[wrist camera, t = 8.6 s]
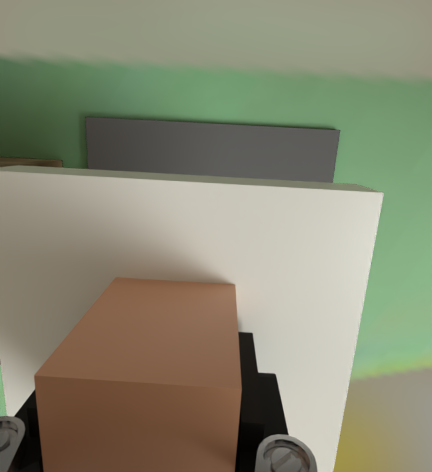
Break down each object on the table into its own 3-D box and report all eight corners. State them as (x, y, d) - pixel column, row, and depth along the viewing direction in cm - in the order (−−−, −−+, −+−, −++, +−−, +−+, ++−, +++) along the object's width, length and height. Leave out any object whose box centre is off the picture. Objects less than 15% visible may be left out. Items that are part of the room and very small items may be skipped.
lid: (356, 184, 13) (519, 235, 6) (312, 455, 16) (380, 702, 9) (18, 165, 13) (-236, 191, 6) (45, 436, 16) (-96, 664, 9)
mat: (338, 130, 23) (340, 130, 23) (306, 351, 27) (307, 354, 27) (87, 117, 23) (85, 116, 23) (98, 336, 28) (96, 339, 28)
